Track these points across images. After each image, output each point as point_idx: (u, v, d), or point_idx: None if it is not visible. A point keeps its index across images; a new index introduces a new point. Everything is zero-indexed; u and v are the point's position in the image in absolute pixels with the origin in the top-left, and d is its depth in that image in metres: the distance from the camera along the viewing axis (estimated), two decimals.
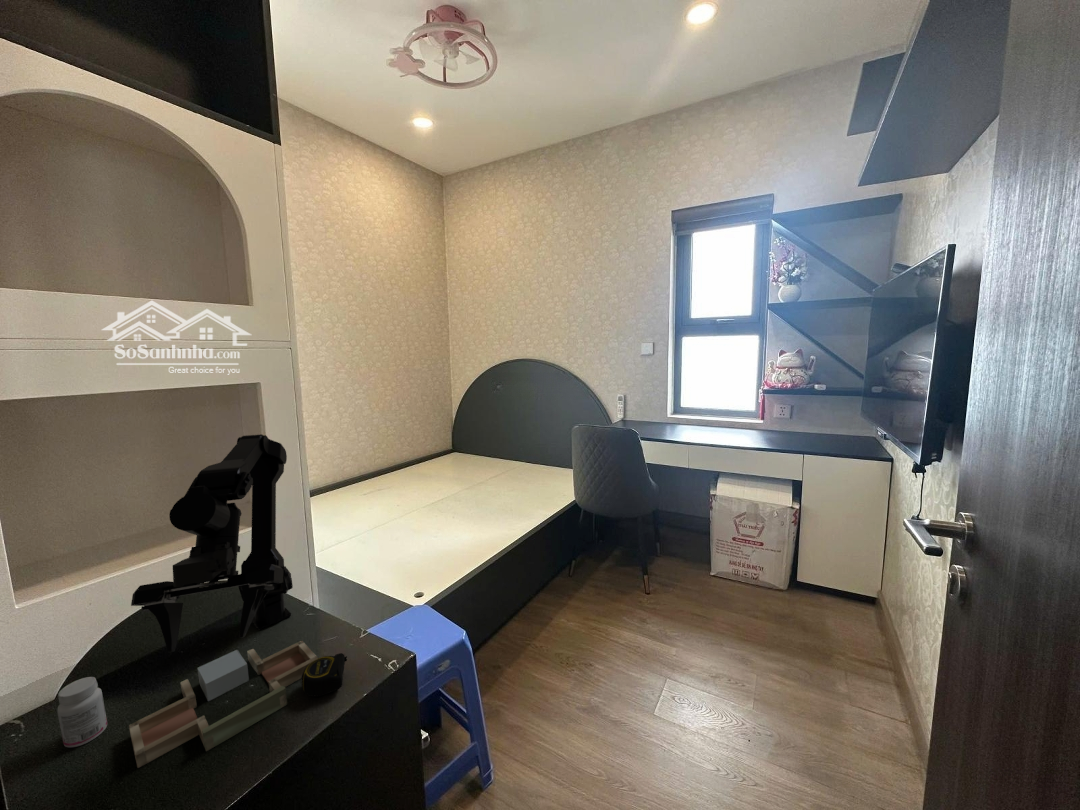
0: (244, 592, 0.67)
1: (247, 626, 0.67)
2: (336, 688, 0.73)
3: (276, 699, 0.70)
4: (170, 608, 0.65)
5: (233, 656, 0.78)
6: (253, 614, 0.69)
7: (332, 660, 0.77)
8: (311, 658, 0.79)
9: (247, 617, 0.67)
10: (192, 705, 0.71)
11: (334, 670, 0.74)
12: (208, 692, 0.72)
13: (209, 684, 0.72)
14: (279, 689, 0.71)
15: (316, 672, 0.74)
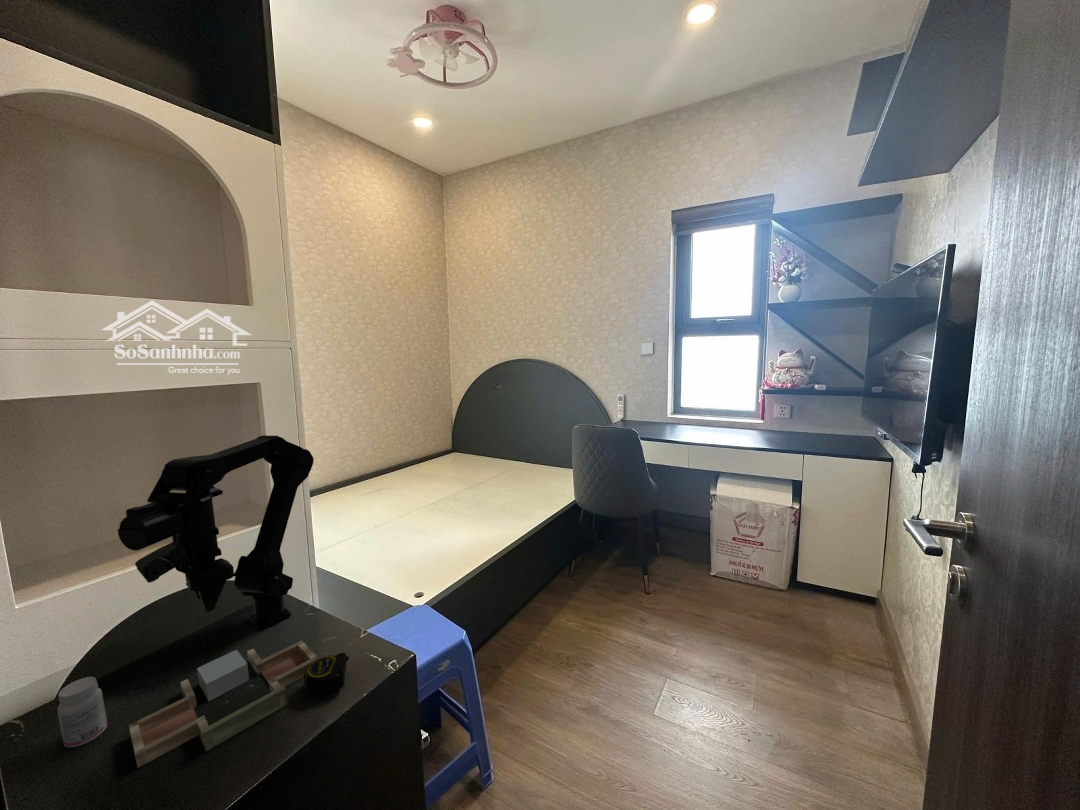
0: None
1: (208, 605, 0.77)
2: (338, 687, 0.73)
3: (276, 699, 0.70)
4: None
5: (233, 656, 0.78)
6: (215, 595, 0.78)
7: (334, 659, 0.77)
8: (311, 658, 0.79)
9: (202, 601, 0.76)
10: (192, 705, 0.71)
11: (336, 670, 0.74)
12: (208, 692, 0.72)
13: (210, 683, 0.72)
14: (279, 689, 0.71)
15: (318, 671, 0.74)
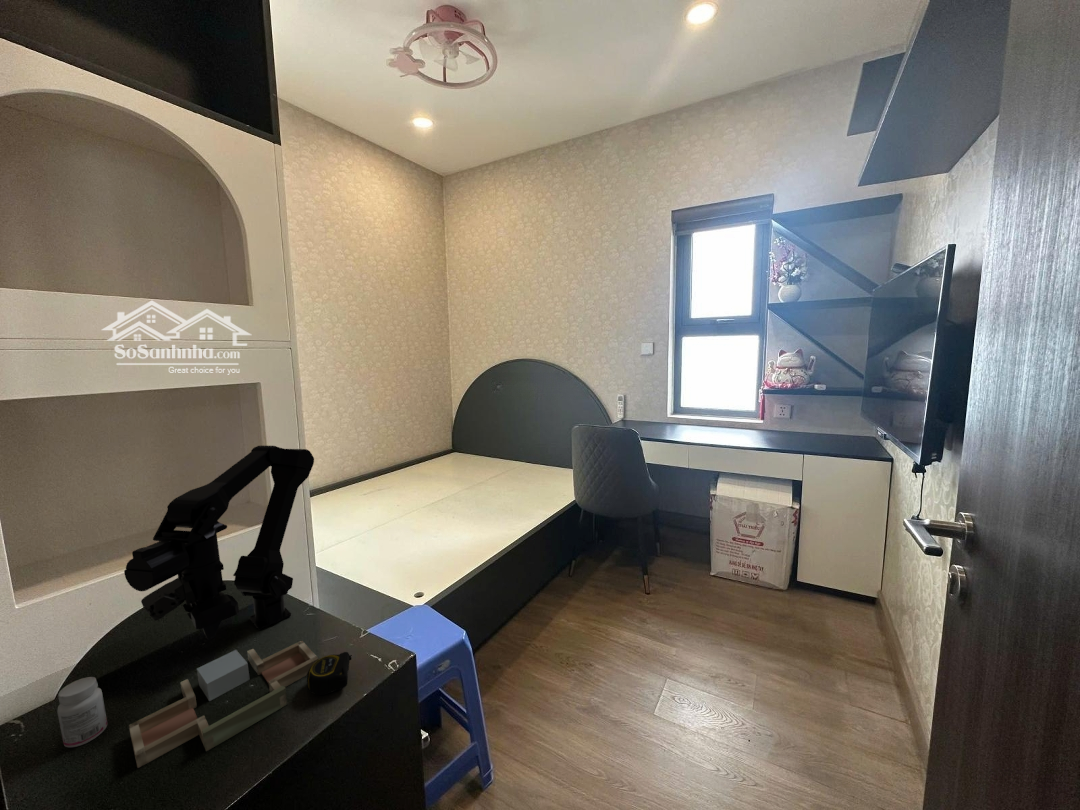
0: (190, 615, 0.78)
1: (209, 633, 0.80)
2: (341, 687, 0.73)
3: (276, 699, 0.70)
4: None
5: (233, 656, 0.78)
6: (216, 623, 0.81)
7: (337, 659, 0.77)
8: (311, 658, 0.79)
9: (203, 629, 0.79)
10: (192, 705, 0.71)
11: (339, 669, 0.74)
12: (209, 692, 0.72)
13: (210, 683, 0.72)
14: (279, 689, 0.71)
15: (321, 670, 0.74)
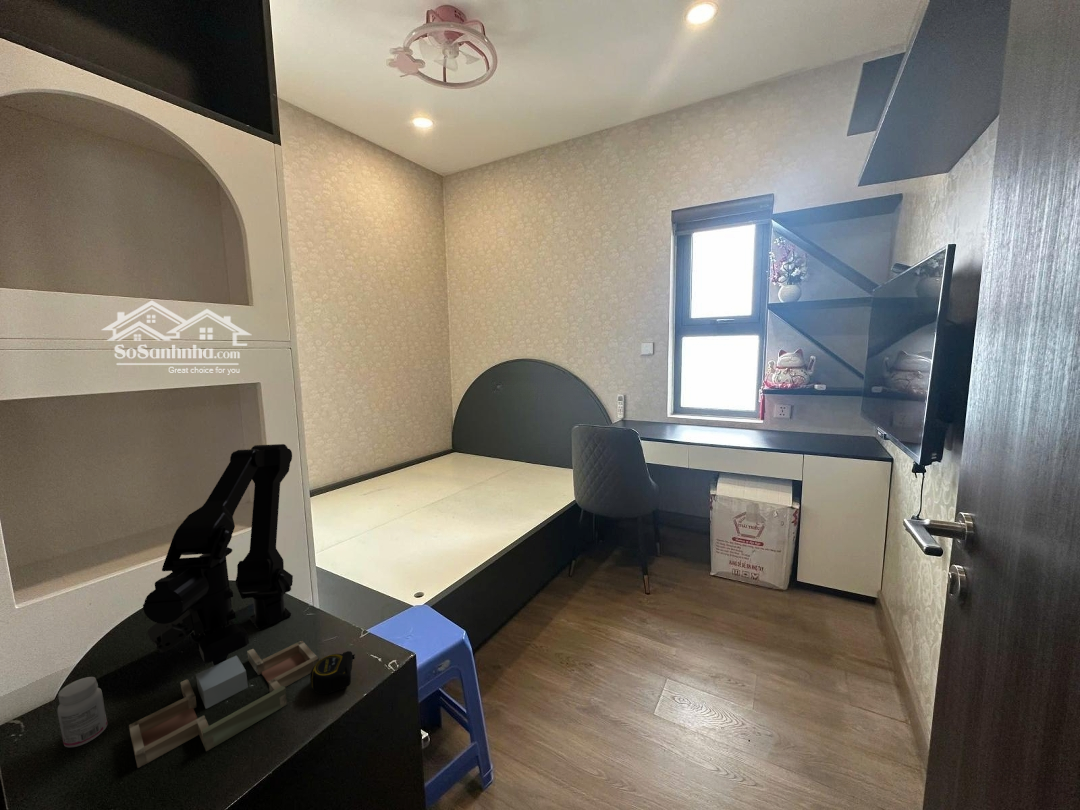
0: (198, 645, 0.74)
1: (217, 663, 0.77)
2: (344, 686, 0.73)
3: (276, 699, 0.70)
4: None
5: (232, 662, 0.77)
6: None
7: (340, 658, 0.77)
8: (311, 658, 0.79)
9: None
10: (192, 705, 0.71)
11: (342, 668, 0.74)
12: (206, 699, 0.71)
13: (207, 691, 0.71)
14: (279, 689, 0.71)
15: (325, 669, 0.74)
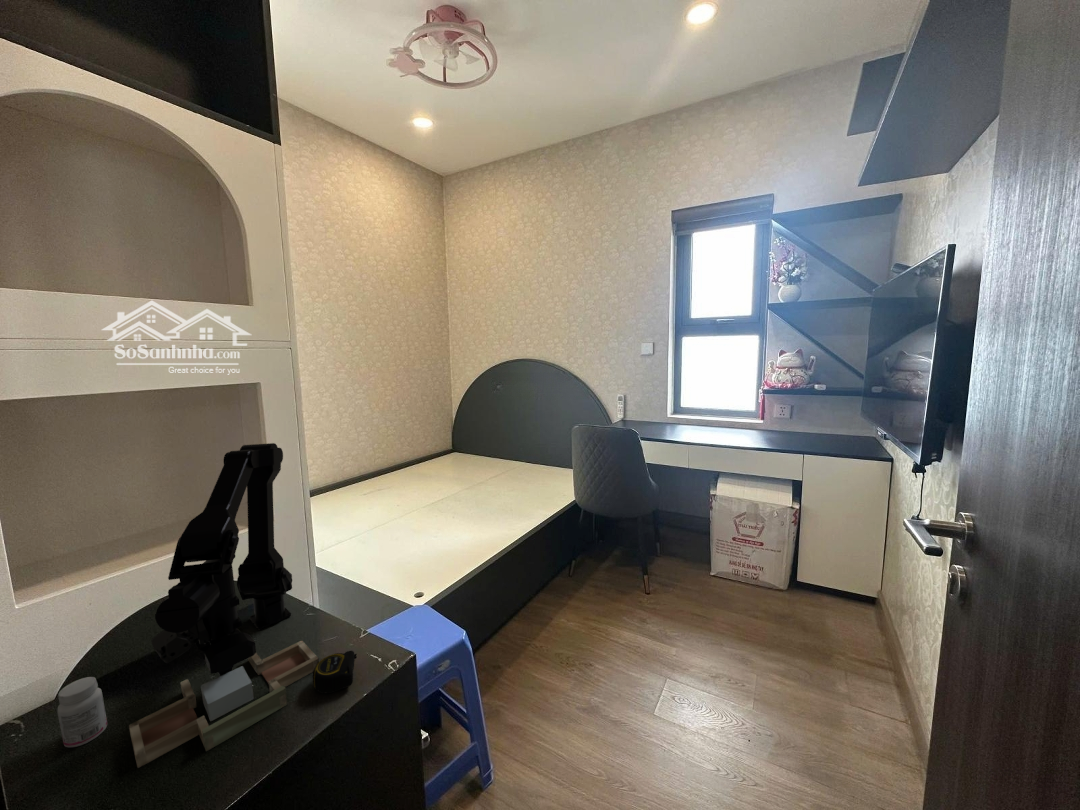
0: None
1: (223, 673, 0.74)
2: (347, 685, 0.73)
3: (276, 699, 0.70)
4: None
5: (238, 673, 0.74)
6: None
7: (342, 657, 0.77)
8: (311, 658, 0.79)
9: None
10: (192, 705, 0.71)
11: (344, 668, 0.75)
12: (210, 713, 0.68)
13: (211, 704, 0.68)
14: (279, 689, 0.71)
15: (327, 669, 0.74)
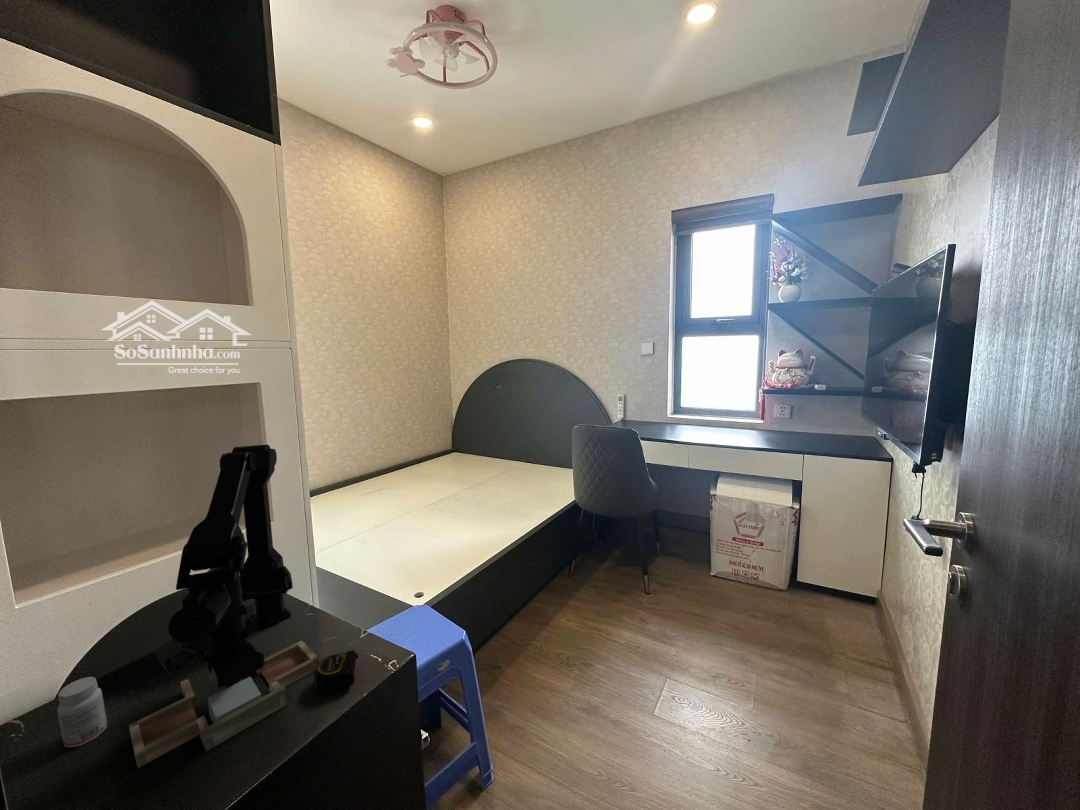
0: None
1: (230, 685, 0.72)
2: (348, 685, 0.73)
3: (276, 699, 0.70)
4: None
5: (246, 684, 0.72)
6: None
7: (344, 657, 0.77)
8: (311, 658, 0.79)
9: None
10: (192, 705, 0.71)
11: (346, 667, 0.75)
12: None
13: (220, 717, 0.65)
14: (279, 689, 0.71)
15: (329, 668, 0.74)
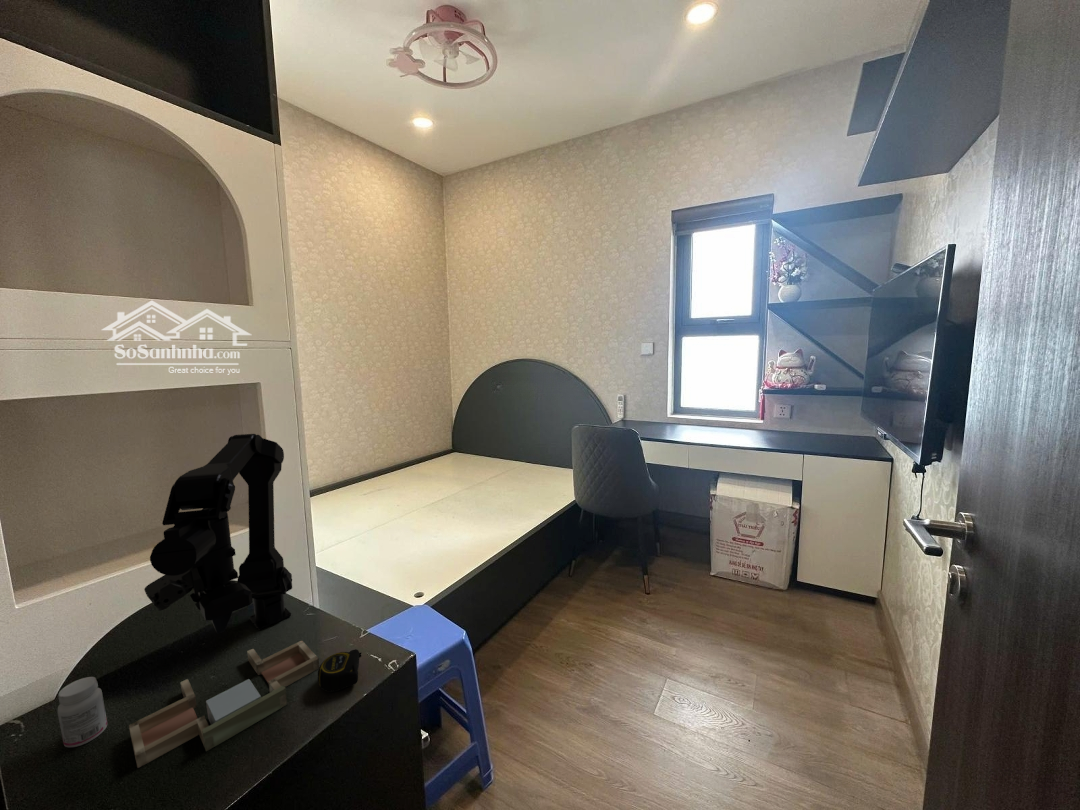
0: None
1: (219, 626, 0.72)
2: (352, 683, 0.74)
3: (276, 699, 0.70)
4: None
5: (245, 687, 0.71)
6: (226, 615, 0.73)
7: (347, 656, 0.78)
8: (311, 658, 0.79)
9: (213, 622, 0.72)
10: (192, 705, 0.71)
11: (350, 666, 0.75)
12: None
13: None
14: (279, 689, 0.71)
15: (332, 667, 0.75)
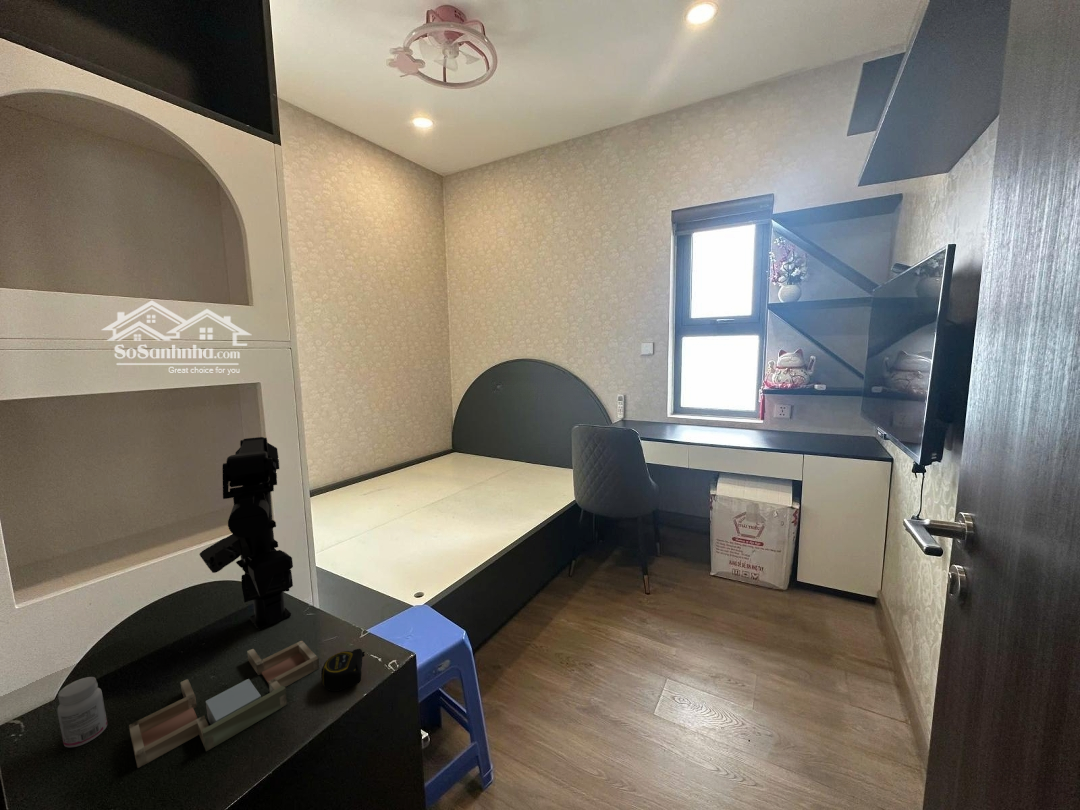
0: None
1: (261, 589, 0.82)
2: (355, 683, 0.74)
3: (276, 699, 0.70)
4: None
5: (245, 686, 0.71)
6: (268, 580, 0.82)
7: (350, 655, 0.78)
8: (311, 658, 0.79)
9: (256, 585, 0.81)
10: (192, 705, 0.71)
11: (353, 665, 0.75)
12: None
13: None
14: (279, 689, 0.71)
15: (336, 667, 0.75)
